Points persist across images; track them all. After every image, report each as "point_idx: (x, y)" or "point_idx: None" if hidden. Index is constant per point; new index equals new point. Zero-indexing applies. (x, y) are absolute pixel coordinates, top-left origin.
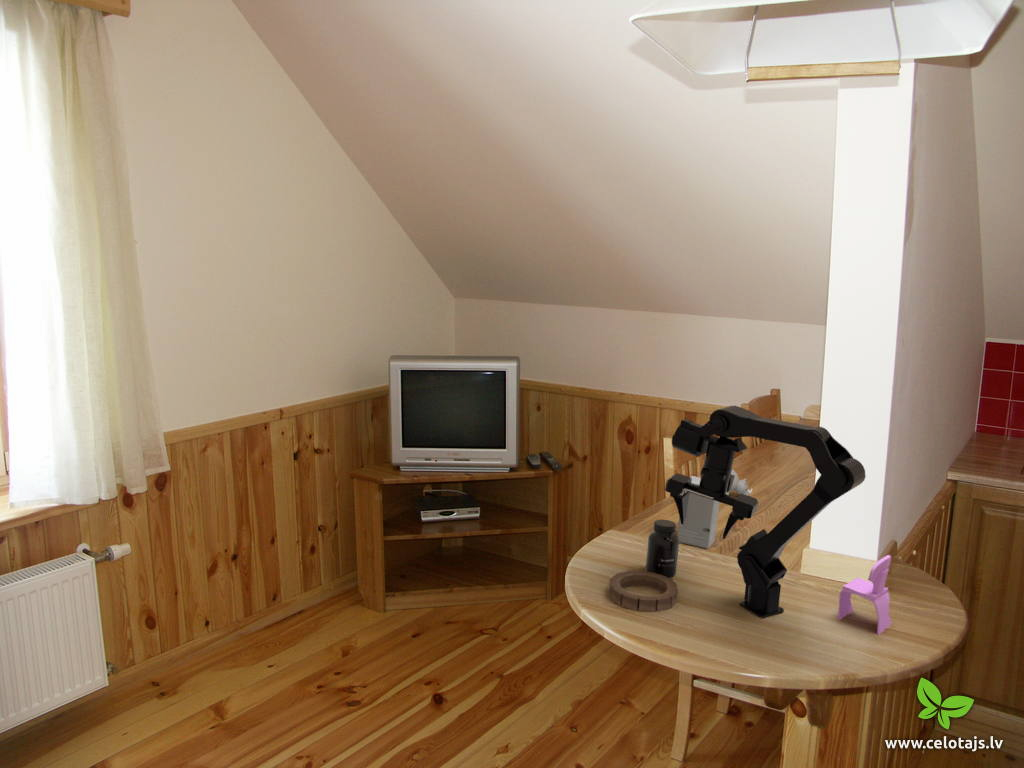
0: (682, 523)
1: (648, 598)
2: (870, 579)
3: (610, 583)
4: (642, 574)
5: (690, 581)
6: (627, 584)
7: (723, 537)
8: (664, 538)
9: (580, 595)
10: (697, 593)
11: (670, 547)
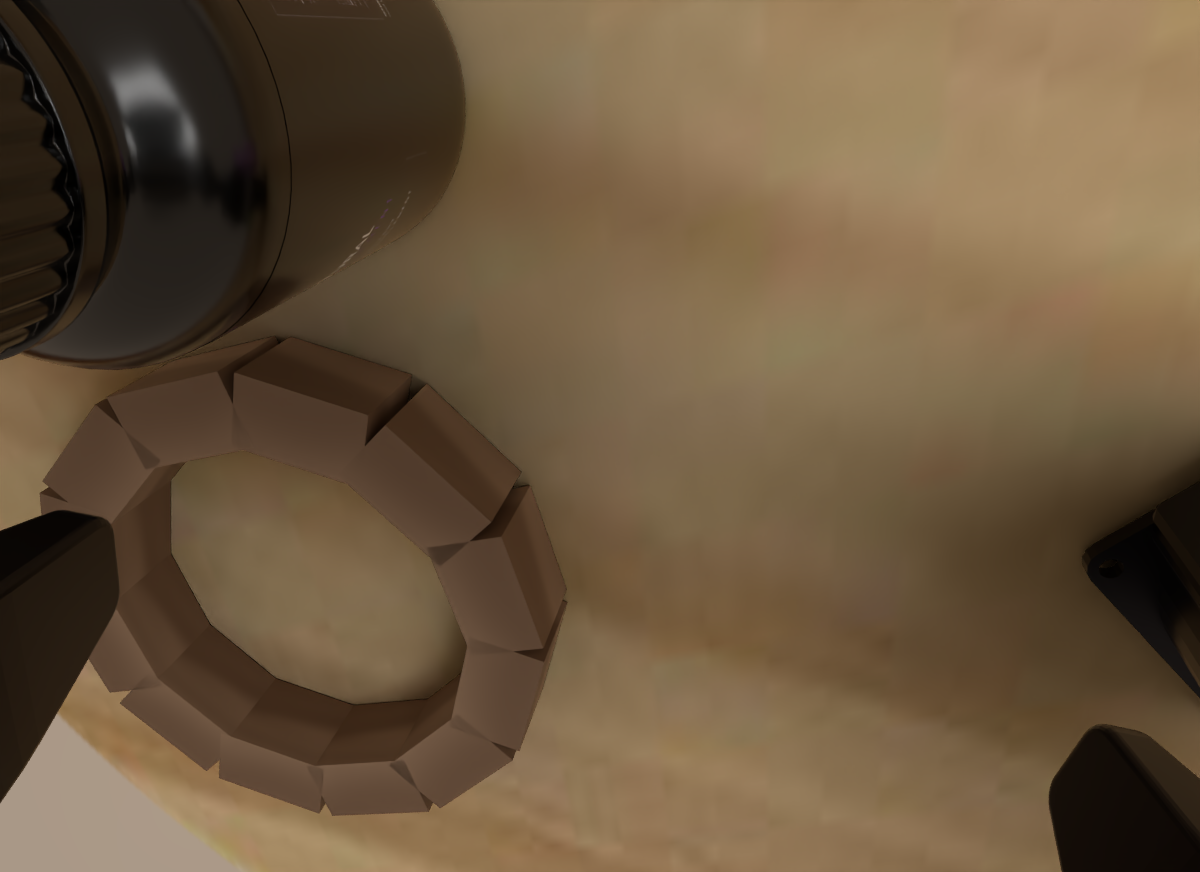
0: (81, 644)
1: (377, 796)
2: None
3: None
4: (208, 447)
5: (629, 184)
6: (174, 469)
7: (1071, 848)
8: (61, 335)
9: None
10: (710, 424)
11: (236, 325)
